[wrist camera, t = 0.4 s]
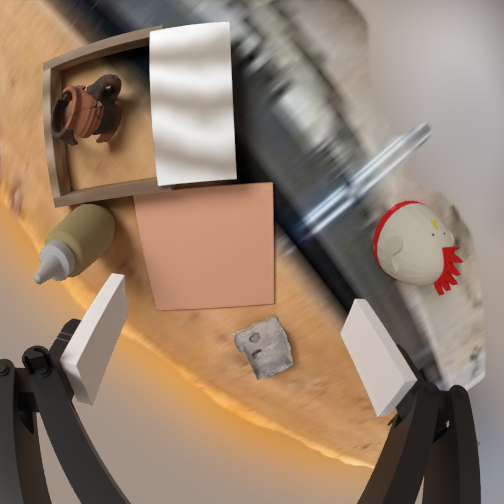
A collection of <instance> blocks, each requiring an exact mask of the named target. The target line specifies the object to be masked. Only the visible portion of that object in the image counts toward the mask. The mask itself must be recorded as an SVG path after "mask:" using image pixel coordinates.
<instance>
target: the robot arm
mask: <svg viewBox="0 0 504 504" xmlns="http://www.w3.org/2000/svg"><path fill="white" fill-rule="evenodd" d="M127 316H128V310H127V300H126V288H125V275H121V274H115V273H112V274H111V275H110V277H109V278H108V280H107V281H106V283H105V284H104V286H103V287H102V289H101V290H100V292H99V294H98V295H97V297H96V298H95V300H94V301H93V303H92V305H91V306H90V308H89V309H88V311H87V313H86V314H85V316H84V318H83V319H82V320H78V319H71V320H70V321H69V322H67V323H66V324H65V325H64V327H63V329H62V330H61V333H59V335H58V336H57V339H56V340H55V341H54V343H53V345H52V346H51V348H50V350H49V351H48V349H46V348H45V347H43V346H33V347H30V348H28V349H27V350H26V351H25V352H24V354H23V356H22V362H23V364H24V366H25V368H15V367H14V365H13V363H12V361H10V360H8V359H0V504H52V503H51V500H50V496H49V493H48V488H47V484H46V479H45V475H44V469H43V464H42V458H41V452H40V445H39V437H38V429H37V417H36V412H40V415H41V418H42V420H43V423H44V426H45V429H46V431H47V434H48V436H49V439H50V441H51V444H52V446H53V448H54V451H55V453H56V455H57V458H58V460H59V462H60V464H61V466H62V468H63V470H64V472H65V474H66V476H67V478H68V480H69V482H70V484H71V486H72V488H73V489H74V491H75V493H76V495H77V497H78V498H79V500H80V502H81V503H82V504H131V503H130V502H129V501H128V499H127V498H126V496H125V495H124V494H123V492H122V491H121V489H120V488H119V486H118V485H117V483H116V482H115V480H114V479H113V478H112V476H111V474H110V473H109V471H108V470H107V468H106V466H105V465H104V463H103V461H102V460H101V458H100V456H99V455H98V453H97V451H96V449H95V448H94V446H93V444H92V442H91V440H90V438H89V436H88V434H87V433H86V430H85V429H84V427H83V425H82V422H81V420H80V418H79V416H78V414H77V412H76V410H75V407H74V405H73V403H72V398H73V396H74V395H75V397H76V399H77V401H79V402H82V403H85V404H89V405H93V404H94V400H95V398H96V395H97V392H98V389H99V386H100V384H101V381H102V378H103V375H104V373H105V370H106V367H107V365H108V362H109V360H110V357H111V355H112V352H113V350H114V347H115V345H116V342H117V340H118V337H119V335H120V333H121V330H122V328H123V326H124V323H125V321H126V319H127ZM340 335H341V337H342V339H343V341H344V343H345V345H346V347H347V349H348V352H349V354H350V356H351V358H352V360H353V362H354V365H355V367H356V369H357V371H358V373H359V376H360V378H361V380H362V382H363V384H364V387H365V389H366V391H367V393H368V396H369V398H370V400H371V403H372V405H373V407H374V410H375V412H376V414H377V417H381V416H386V415H390V414H391V413H392V411H393V410H394V409H395V408H396V409H397V412H398V413H397V414H396V415H395V416H394V417H393V419H392V420H391V421H390V422H389V423H388V425H390V424H391V423H392V426H391V429H390V431H389V434H388V437H387V440H386V442H385V445H384V447H383V450H382V452H381V455H380V457H379V459H378V462H377V464H376V466H375V468H374V471H373V473H372V475H371V477H370V479H369V481H368V483H367V485H366V488H365V490H364V492H363V493H362V495H361V497H360V499H359V501H358V503H357V504H415V501H416V498H417V495H418V493H419V490H420V486H421V483H422V480H423V477H424V488H423V499H422V504H481V485H480V467H479V456H478V447H477V439H476V433H475V426H474V420H473V415H472V409H471V405H470V400H469V396H468V393H467V391H466V390H465V388H463V387H462V386H460V385H454V386H452V387H451V388H450V390H449V391H441V390H439V388H438V387H437V386H436V385H435V384H433V383H432V382H428V381H426V382H425V381H424V379H423V378H422V376H421V374H420V373H419V371H418V369H417V368H416V366H415V365H414V364H413V362H412V360H411V358H409V355H408V354H407V352H406V351H405V350H404V349H403V348H402V347H401V346H400V345H399V344H397V345H396V344H395V343H394V341H393V340H392V338H391V337H390V335H389V334H388V332H387V331H386V329H385V328H384V326H383V324H382V323H381V321H380V320H379V318H378V317H377V315H376V314H375V312H374V311H373V310H372V308H371V307H370V305H369V304H368V302H367V301H366V299H355V300H354V303H353V305H352V308H351V310H350V313H349V315H348V317H347V320H346V322H345V324H344V327H343V329H342V331H341V334H340ZM448 421H449V426H448V427H447V422H448Z"/></svg>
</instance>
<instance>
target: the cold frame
mask: <svg viewBox="0 0 504 504" xmlns="http://www.w3.org/2000/svg"><path fill="white" fill-rule="evenodd" d="M148 45H150V93H151V113H152V128H153V141H154V152H155V163H156V172H157V177H156V178H148V179H141V180H134V181H127V182H120V183H114V184H108V185H102V186H96V187H91V188H85V189H80V190H75V191H71V185H70V179H69V172H68V165H67V157H66V148H65V143H64V142H63V141H62V140H61V139H58V138H54V137H53V136H52V134H51V127H50V124H51V115H52V111H53V107H54V105H55V102H56V100H57V99H62V71H63V70H66V69H69V68H71V67H74V66H77V65H79V64H82V63H85V62H88V61H91V60H94V59H97V58H101V57H104V56H107V55H111V54H114V53H118V52H122V51H126V50H130V49H134V48H139V47H143V46H148ZM43 120H44V135H45V146H46V155H47V163H48V170H49V177H50V183H51V189H52V195H53V200H54V205H55V208H57V207H62V206H68V205H73V204H79V203H85V202H91V201H98V200H104V199H111V198H118V197H125V196H132V195H140V194H148V193H157V192H166V191H172V190H173V189H174V188H175V186H176V184H180V183H190V182H201V181H214V180H227V179H237V176H236V157H235V137H234V117H233V95H232V72H231V48H230V22H216V23H204V24H195V25H187V26H180V27H173V28H167V29H165V28H164V26H163V25H161V26H156V27H151V28H146V29H142V30H137V31H133V32H129V33H125V34H122V35H118V36H114V37H111V38H107V39H104V40H101V41H98V42H95V43H92V44H89V45H86V46H83V47H81V48H78V49H75V50H73V51H70V52H68V53H65V54H63V55H60V56H58V57H56V58H53V59H51V60H49V61H47V62H44V64H43ZM63 128H64V126H63V117H62V124H61V130H63Z"/></svg>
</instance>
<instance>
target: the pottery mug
mask: <svg viewBox="0 0 504 504" xmlns="http://www.w3.org/2000/svg"><path fill="white" fill-rule="evenodd" d="M108 86H111V87H110V88H109V89H107V88H106V87H108ZM85 88H86V86H83V85H78V86H75V87H74V86H68V87H66V88H65V89H64V90H63V92H62V93H63V94H65V97H64V98H63V99H57V100H56V102H55V105H54V107H53V111H52V115H51V124H50V127H51V134H52V136H53V137H54V138H58V139H61V140H62V141H63V142H64V143H67V144H70V145H72V146H74V145H77V144H78V142H77V141H76V140H75V138H74V135H73V131H74V132H75V133H76V134H77V135H79V136H80V137H81V138H88V137H90V136H91V135H92V134H93V135H98V134H101V135H100V137H99V138H98V139H97V140H96V142H97V143H101V142H107V141H108V140H110V139H111V137H112V136H113V135H114V133H115V132H116V130H117V128H118V126H119V123H120V120H121V107H120V106H119V105H118V104H116V103H115V102H116V101H117V96H118V95H119V93H120V90H121V80H120V79H119V78H118V76H117V75H112V74H107V75H104V76H102V77H100V78H99V79H98V80H97V81H96V82H95V83H94V84H93V85H90V86H88V87H87V91H85V90H84V89H85ZM71 100H72V108H71V112H70V116H69V118H68V121H67V123H66V125H65V127H64V128H63V130H61V124H62V117H63V112H64V110H65V108H66V107H67V105H68V103H69V102H70V101H71ZM97 101H100V102H101V103H102V106H99V107H97Z"/></svg>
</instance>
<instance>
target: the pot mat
mask: <svg viewBox="0 0 504 504" xmlns="http://www.w3.org/2000/svg"><path fill="white" fill-rule="evenodd" d="M133 198H134V205H135V211H136V217H137V223H138V228H139V234H140V239H141V244H142V249H143V254H144V259H145V263H146V268H147V272H148V276H149V281H150V285H151V289H152V293H153V297H154V301H155V305H156V309H157V310H178V309H200V308H218V307H234V306H248V305H261V304H273V303H274V226H273V183H272V182H267V183H247V184H231V185H217V186H204V187H193V188H182V189H173V190H172V191H166V192H157V193H148V194H140V195H133Z"/></svg>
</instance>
